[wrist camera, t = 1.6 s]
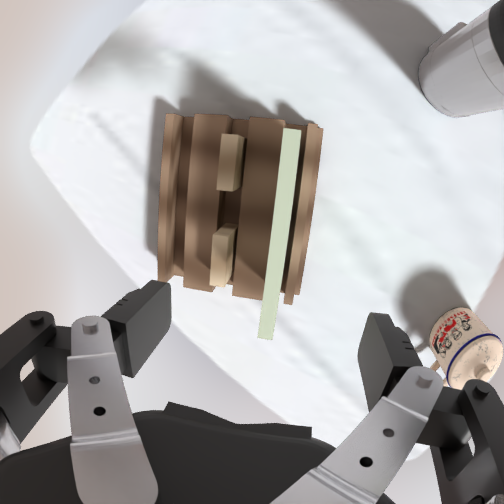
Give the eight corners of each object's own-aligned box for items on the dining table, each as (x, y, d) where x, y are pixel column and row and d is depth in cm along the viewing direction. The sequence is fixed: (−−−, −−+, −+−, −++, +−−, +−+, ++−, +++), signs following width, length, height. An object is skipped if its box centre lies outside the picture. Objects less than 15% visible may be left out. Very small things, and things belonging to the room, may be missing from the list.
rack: (174, 118, 35) (159, 113, 31) (322, 129, 33) (325, 125, 29) (166, 268, 41) (152, 281, 37) (299, 290, 39) (299, 305, 35)
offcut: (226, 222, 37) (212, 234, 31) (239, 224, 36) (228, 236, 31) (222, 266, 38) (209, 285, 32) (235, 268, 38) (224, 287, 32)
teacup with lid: (458, 293, 36) (497, 334, 25) (485, 324, 37) (521, 365, 25) (402, 353, 40) (424, 406, 29) (433, 377, 40) (456, 426, 29)
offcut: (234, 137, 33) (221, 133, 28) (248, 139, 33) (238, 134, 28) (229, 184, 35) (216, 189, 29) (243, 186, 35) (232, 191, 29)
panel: (289, 141, 33) (283, 128, 19) (300, 142, 33) (301, 130, 19) (272, 275, 38) (257, 337, 24) (282, 277, 37) (272, 340, 24)
